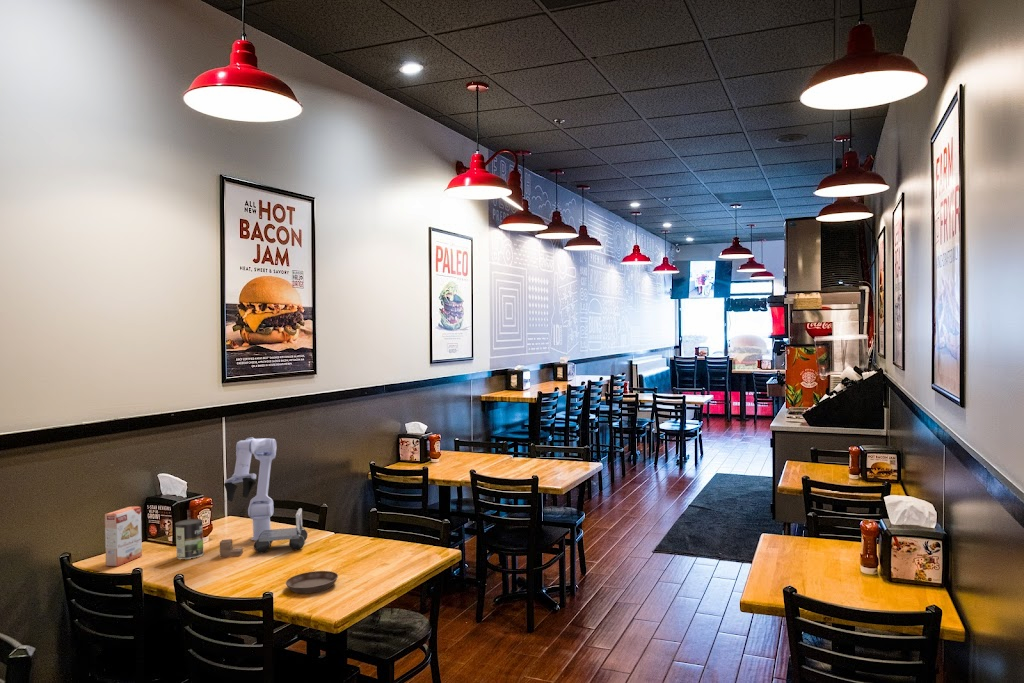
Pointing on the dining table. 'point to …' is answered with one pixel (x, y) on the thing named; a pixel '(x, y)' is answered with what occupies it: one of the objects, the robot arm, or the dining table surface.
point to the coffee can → (189, 538)
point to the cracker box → (123, 536)
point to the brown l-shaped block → (229, 549)
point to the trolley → (283, 536)
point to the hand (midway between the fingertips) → (237, 498)
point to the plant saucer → (311, 581)
